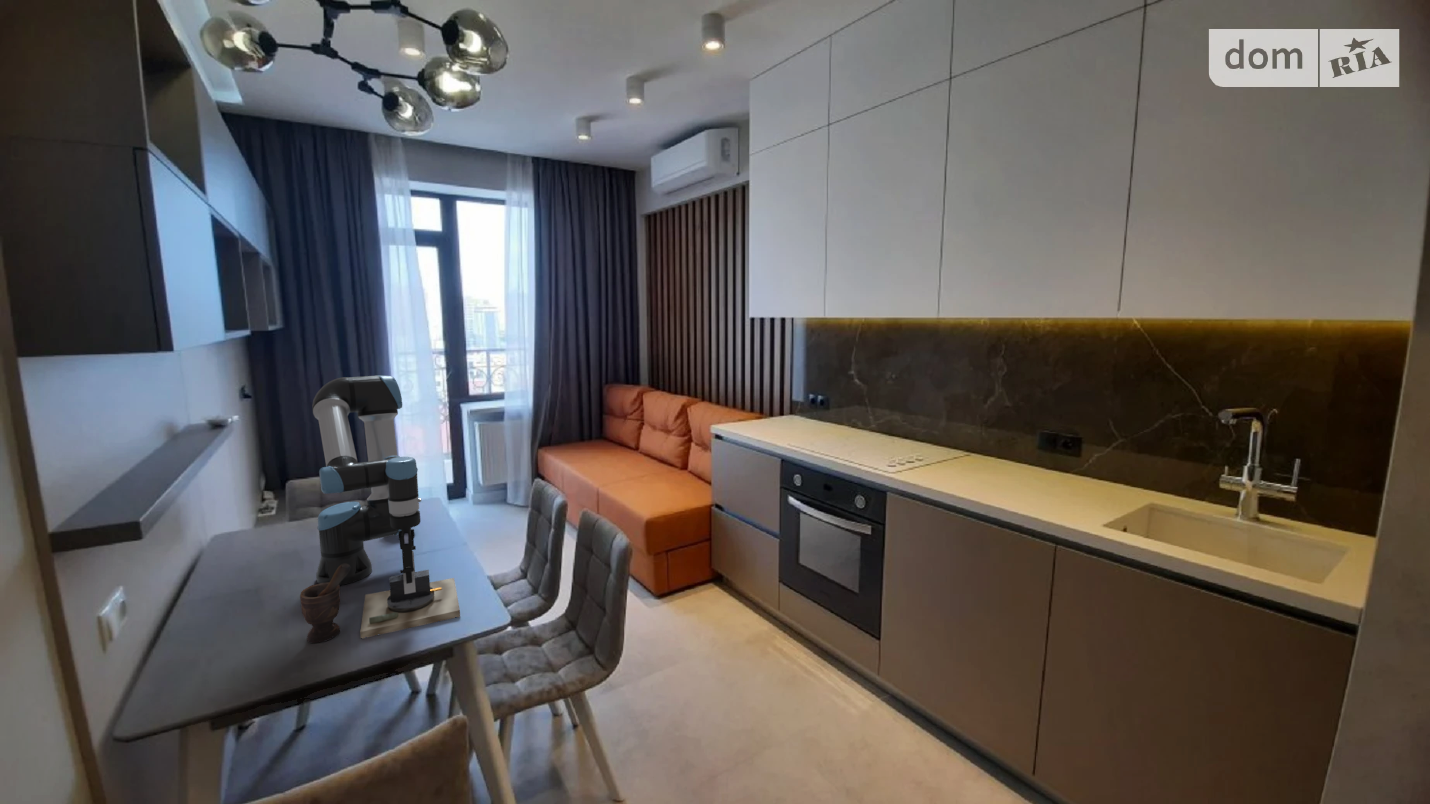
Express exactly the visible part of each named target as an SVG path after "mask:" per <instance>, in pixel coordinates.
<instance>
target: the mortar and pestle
mask: <svg viewBox="0 0 1430 804" xmlns="http://www.w3.org/2000/svg"><path fill="white" fill-rule="evenodd" d="M350 568H351V567H350V565H348V564H345V563H344V564H341V565H340V566H339V567H338V568H337V570H336V572H335V573H334V575H333V577H332V579H331V581H330V582H327V583H320V584H318V583H317V584H311V585H309V586H307V587H306V588H304V589H303V590H301V591H300V595H299V598H300V607H301V613H302V616H303V618H304V620H305V622H306V623H307V624H309V625H311V626H312V627H311V628H310V630H309V631H308V633H307V635H306V640H307V642H308V643H311V644H317V643H322V642H323V643H324V642H326V641H329V640H331V639H333V638H335V637H337V636H339V635H340V633H341V627H340V625H339V624H338V623H336V622H334V619H335V618H337V617H338V615H339V611H340V607H341V595H340V594H341V585H339V583H340V582H341V581H342V580H343V579H344V577H345V576H346V575H347V574H348V572H349V571H350Z"/></svg>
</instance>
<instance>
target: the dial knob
mask: <svg viewBox="0 0 1430 804" xmlns="http://www.w3.org/2000/svg"><path fill="white" fill-rule="evenodd" d="M414 575H415V589H416V592H413V593H408V594H405V592H404V579H403V573H400V574H396V575H391V576H389V580H388V581H389V582H388V583H389V590H390V596H389V597H388V599H387V605H388V609H389V610H390V611H392V612H398V613H403V612H411V611H415V610H419V609H421V608H424V607H426V606H427V605H429V604H430V603H432V602H433V600H434V591H439V590H442V588H441V587H440V588H435V589H433V588H432V587H430V570H429V569H424V570H420V571H418V570H417V571H415V572H414Z"/></svg>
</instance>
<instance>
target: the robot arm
mask: <svg viewBox="0 0 1430 804" xmlns="http://www.w3.org/2000/svg"><path fill="white" fill-rule="evenodd" d="M402 408H403V398H402V393H401V390H400V387H399V384H398V380H397V379H396V378H395V377H393V376H392V375H369V376H368V375H365V376H352V377H349V376H347V377H346V376H345V377H343V376H342V377H338V378H335V379H332V380H330V381H329V382H327V383H325V384H324V385H323V386H322V387H321V388H320V389H319V390H318V391H317V392H316V394H315V396H314V398H313V401H312V414H313V417H314V418H315V419H316V420H318V424H319V425H318V426H319V431H320V437H321V443H322V450H323V454H324V455H323V456H324V461H325V466H324V467H323V466H322V467H321V468H320V469H319V471H318V473H319V474H318V475H319V482H320V483H319V484H320V490H321V492H322V493H323V494H328V495H329V494H338V493H339V494H341V493H345V492H352V491H357V490H363V489H370V488H371V490H370V491H371V494H370V495H369V496H368V497H367V498H366V501H367V502H366V503H367V504H365V505H361V504H360V502H359V501H346V502H341V503H337V504H334V505H332V506H329V507H327V508H325V509H323V510H322V511H320V513H319V514H318V516H317V530H318V538H319V548H320V549H319V550H320V560H319V563H318V566H317V570H316V574H315V577H316V580H315V581H316V583H317V584H320V583H327V582H330V581H331V579H332V577H333V575H334V573H335V572H336V570H337V568H338V567H339V566H340V565H341V564H344V563H345V564H348V565H350V567H351V568H350V571H349V572H348V574H347V575H346V576H345V577H344V579H343V580H342V581H341V582H340V583H339V585H340V586H342V585H347V584H352V583H355V582H358V581H360V580H362V579H365V578H366V577H368V576H369V575H370V574H371V573H372V571H373V567H372V566H373V564H372V561H371V560H370V558H369V555H368V554H367V552H366V550H365V547H364V542H368V541H374V540H378V539H382V538H387V537H392V536H397V537H398V540H399V547H400V548H399V549H400V550H401V555H402V556H401V557H402V570H400V571H399V572H400V574H403V579H404V592H405V594H408V593H413V592H416V589H415V575H414V572H416V566H415V554H414V553H415V552H414V551H415V550H416V545H415V542H414V541H415V527H417V526H419V525H420V524H421V511H420V510H419V509H420V503H421V502H422V498H420V497H419V483H418V481H419V480H418V472H419V471H418V470H419V469H418V467H417V461H416V459H415V458H414V457H410V456H399V455H398V449H397V448H398V447H397V440H396V431H395V423H394V422H395V421H394V420H395V418H396V417H397V416H398V414H399V411H398V410H401V409H402ZM350 413H357V418H358V419H359V420H361V421H362V422H363V423H364V425H363V426H364V433H365V442H366V452H367V453H366V454H367V461H363V462H358V458H357V452H356V449H355V444H354V440H353V434H352V430H351V426H350V422H349V417H348V416H349V414H350Z"/></svg>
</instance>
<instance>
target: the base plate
mask: <svg viewBox="0 0 1430 804" xmlns="http://www.w3.org/2000/svg"><path fill="white" fill-rule="evenodd" d="M430 587H432V588H433V589H435V588H440V587H441V588H442V590H439V591H434V600H433V602H432V603H430V604H429V605H427V606H426V607H424V608H421V609H419V610H415V611H411V612H403V613H398V612H392V611H390V610H389V609H388V605H387V599H388V597H389V596H390V589H389V590H383V591H379V592H373V593H367V594H365V595H364V602H363V609H362V616H361V625H360V631H359V633H360V639H361V638H362V639H366V638H365V637H367V638H370V637H375V635H376V636H379V635H378V634H380V635H383V634H388V633H393V632H399V631H402V630H407V629H411V628H416V627H420V626H425V625H429V624H433V623H438V621H439V622H443V621H447V620H452V619H456V618H455V617H457V618H461V610H460V603H459V598H458V593H457V592H458V591H457V586H456V581H455V577H451V578H447V579H441V580H435V581H431V582H430Z"/></svg>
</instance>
